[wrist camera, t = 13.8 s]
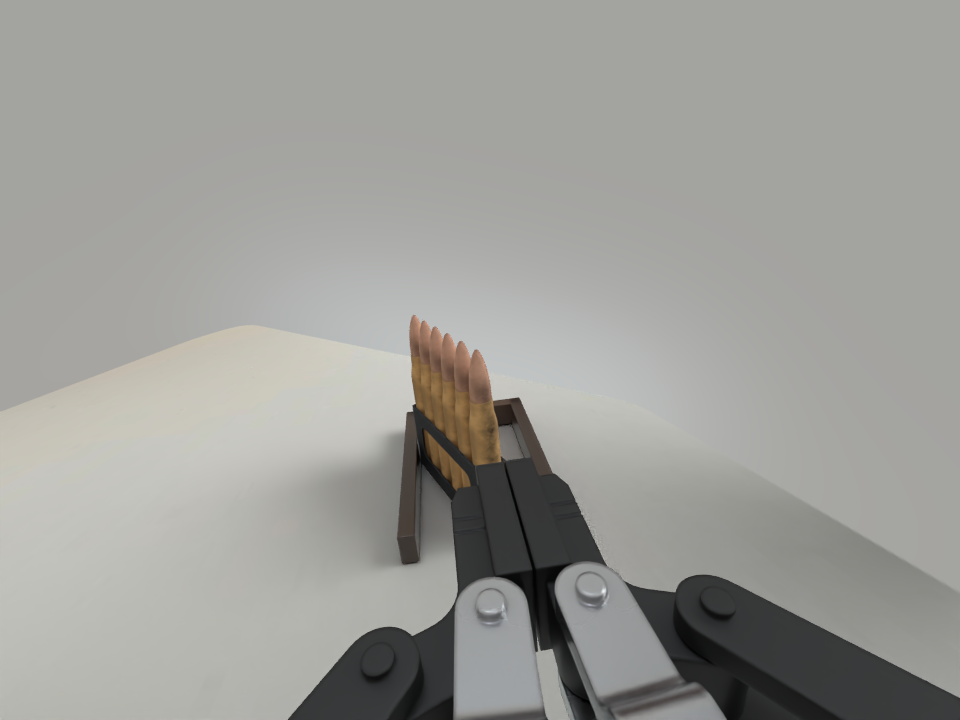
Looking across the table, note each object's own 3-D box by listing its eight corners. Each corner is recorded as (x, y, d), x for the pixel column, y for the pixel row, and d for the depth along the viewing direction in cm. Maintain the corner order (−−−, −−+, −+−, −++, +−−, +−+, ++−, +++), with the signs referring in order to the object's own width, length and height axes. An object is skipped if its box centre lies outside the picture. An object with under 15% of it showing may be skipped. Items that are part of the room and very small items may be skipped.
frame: (520, 416, 41) (519, 397, 40) (570, 538, 27) (570, 511, 26) (409, 431, 40) (406, 412, 39) (402, 564, 26) (397, 537, 25)
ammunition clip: (420, 460, 36) (396, 315, 31) (441, 452, 36) (421, 309, 32) (488, 545, 27) (469, 359, 22) (514, 532, 28) (501, 350, 23)
